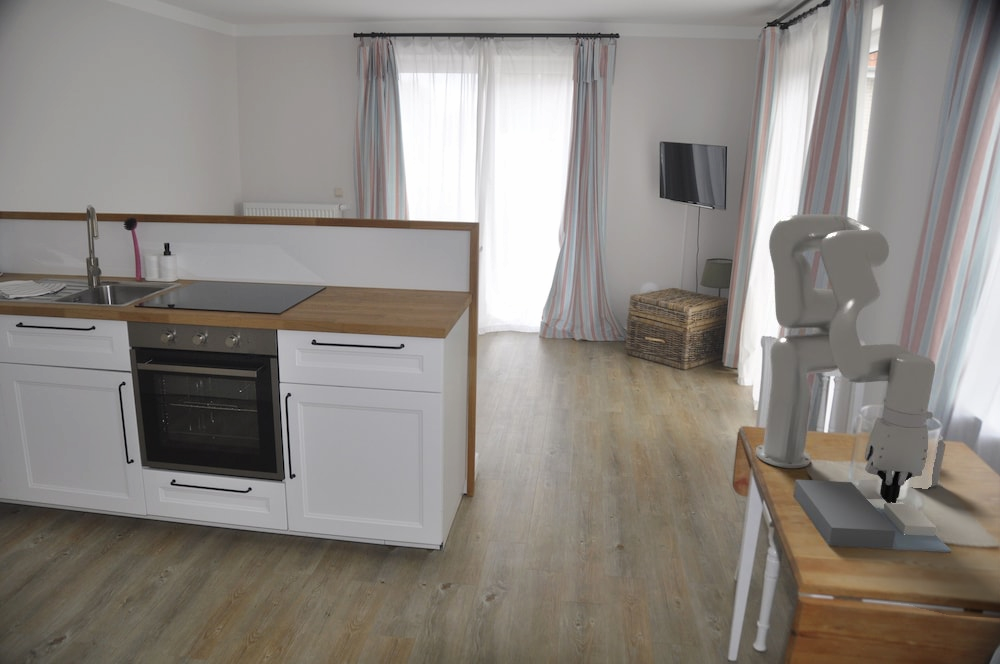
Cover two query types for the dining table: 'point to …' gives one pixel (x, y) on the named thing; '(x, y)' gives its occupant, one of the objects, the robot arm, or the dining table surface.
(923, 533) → the tile
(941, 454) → the can
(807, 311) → the robot arm
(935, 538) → the mat
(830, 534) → the panel
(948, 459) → the dining table surface
